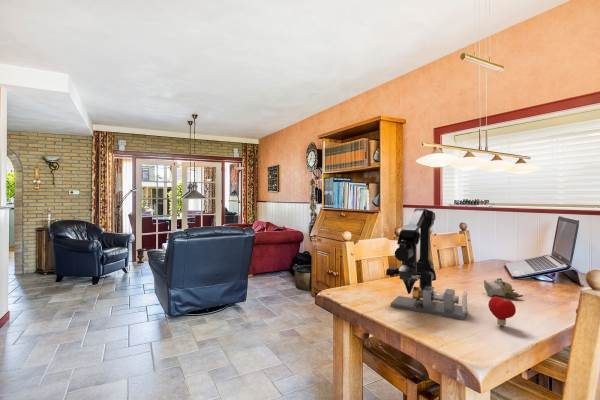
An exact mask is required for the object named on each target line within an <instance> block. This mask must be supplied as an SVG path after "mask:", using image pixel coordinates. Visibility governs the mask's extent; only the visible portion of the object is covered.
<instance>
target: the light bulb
mask: <svg viewBox="0 0 600 400" xmlns="http://www.w3.org/2000/svg"><path fill="white" fill-rule="evenodd" d="M487 305H488V306H487V307H488V309H489V311H490V312H491V314H492V315H493V316H494V317H495V318H496V319H497V324H498V326H499V327H504V326H506V325H507V319H510V318H512V317H514V316H515V315H516V312H517V310H516V306H515V304H514V302H513V301H512V300H510V299H504V298H502V297H501V296H491V298H490V299H489V300H488V304H487Z"/></svg>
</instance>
